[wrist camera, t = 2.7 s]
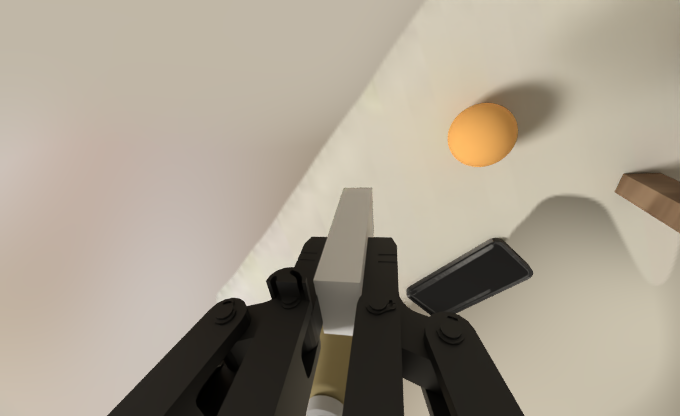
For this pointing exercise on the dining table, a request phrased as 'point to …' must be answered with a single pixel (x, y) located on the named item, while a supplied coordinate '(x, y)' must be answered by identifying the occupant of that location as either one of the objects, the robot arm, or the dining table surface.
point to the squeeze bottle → (330, 376)
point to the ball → (482, 134)
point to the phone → (470, 278)
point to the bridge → (653, 196)
